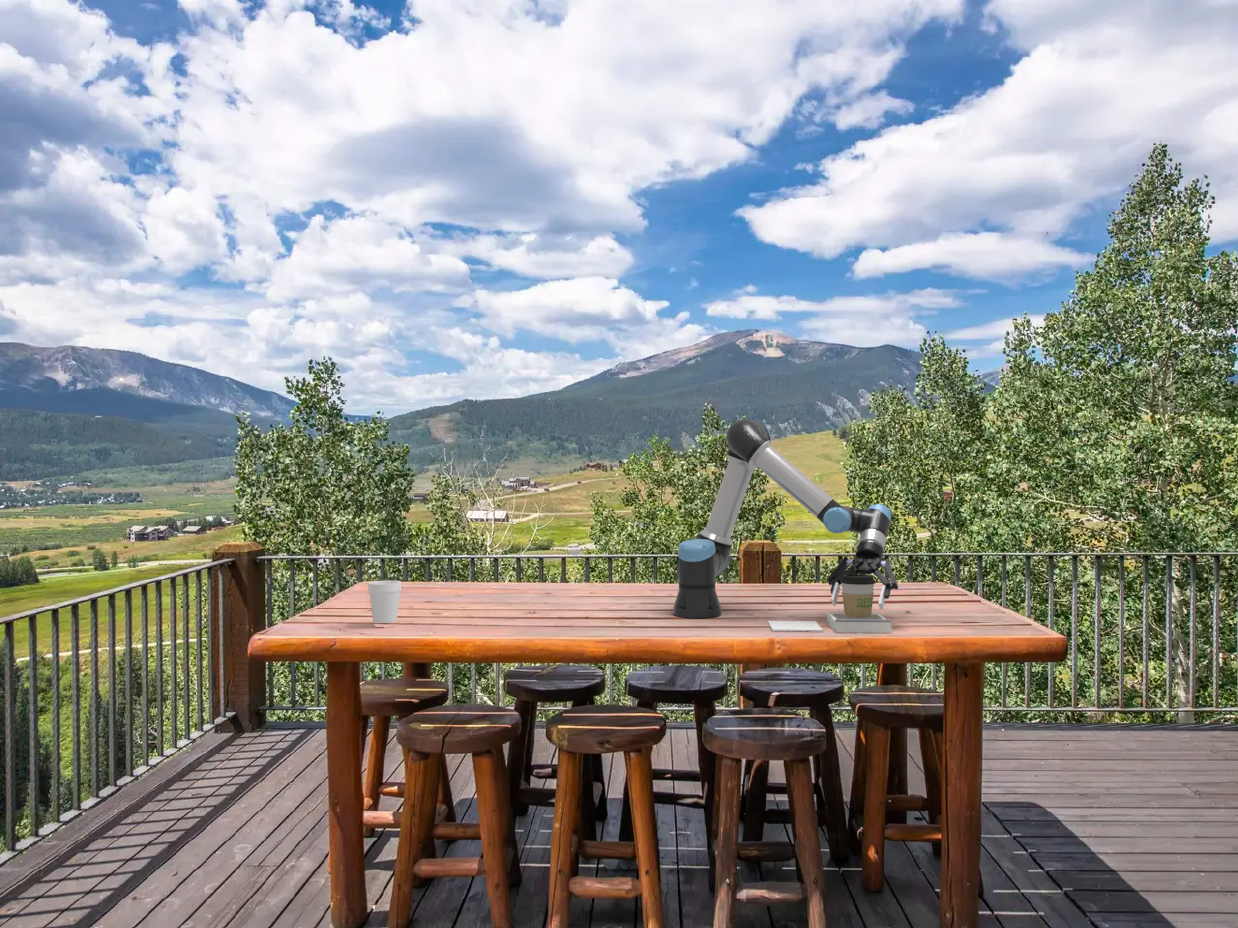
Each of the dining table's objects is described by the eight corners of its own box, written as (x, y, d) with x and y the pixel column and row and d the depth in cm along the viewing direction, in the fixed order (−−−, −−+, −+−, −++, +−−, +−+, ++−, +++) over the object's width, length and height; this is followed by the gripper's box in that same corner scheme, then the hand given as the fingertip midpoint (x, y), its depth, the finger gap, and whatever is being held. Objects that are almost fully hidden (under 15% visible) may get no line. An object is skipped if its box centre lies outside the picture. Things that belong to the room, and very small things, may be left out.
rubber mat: (772, 631, 228) (772, 629, 229) (768, 622, 242) (768, 620, 242) (823, 632, 227) (823, 629, 227) (815, 623, 241) (815, 621, 241)
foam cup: (374, 630, 235) (374, 585, 236) (363, 625, 243) (363, 582, 243) (406, 626, 241) (405, 582, 241) (394, 622, 248) (394, 579, 249)
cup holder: (836, 632, 226) (836, 619, 226) (827, 622, 241) (827, 610, 241) (891, 633, 225) (891, 620, 225) (878, 623, 240) (878, 611, 240)
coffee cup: (877, 631, 227) (877, 578, 228) (841, 630, 229) (841, 577, 230) (874, 625, 237) (873, 574, 237) (839, 624, 239) (838, 573, 239)
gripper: (915, 557, 240) (903, 616, 227) (833, 554, 254) (817, 609, 241) (911, 541, 236) (898, 599, 223) (827, 538, 249) (810, 593, 236)
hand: (856, 604), depth 232 cm, fingers open, 13 cm apart
